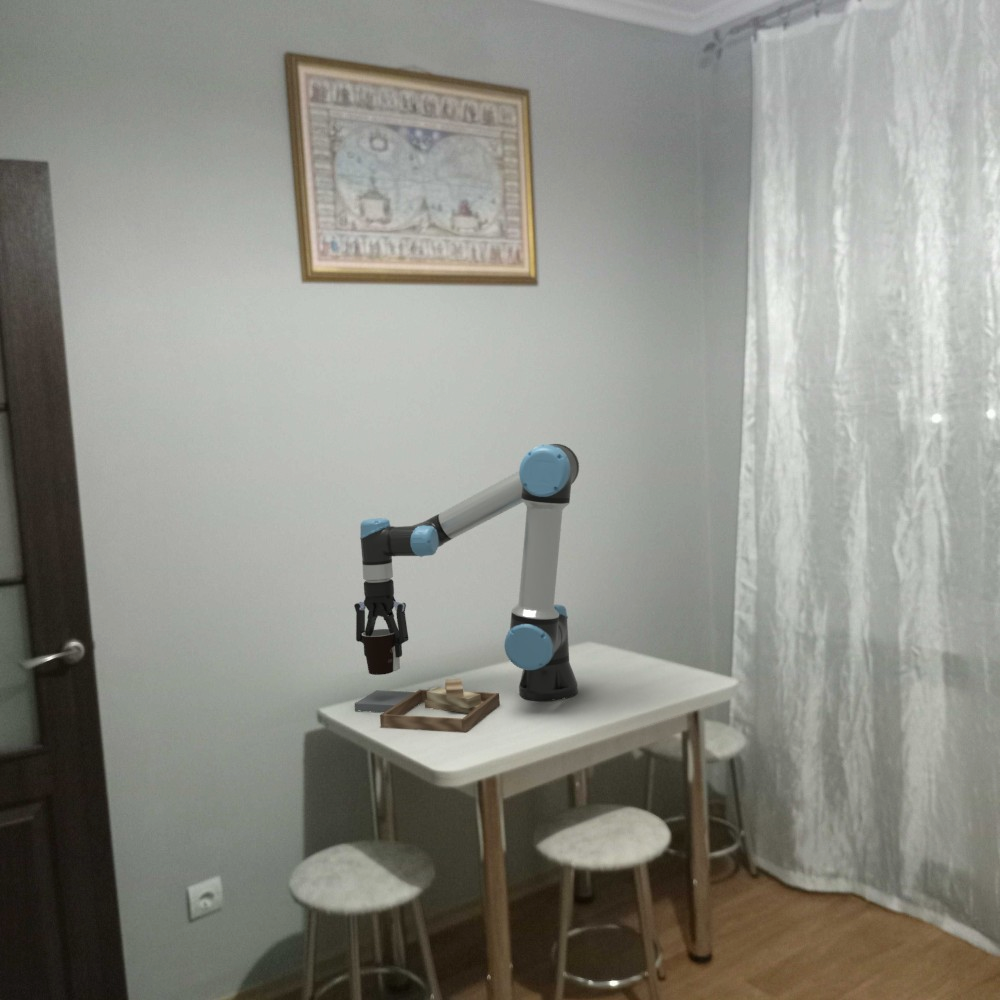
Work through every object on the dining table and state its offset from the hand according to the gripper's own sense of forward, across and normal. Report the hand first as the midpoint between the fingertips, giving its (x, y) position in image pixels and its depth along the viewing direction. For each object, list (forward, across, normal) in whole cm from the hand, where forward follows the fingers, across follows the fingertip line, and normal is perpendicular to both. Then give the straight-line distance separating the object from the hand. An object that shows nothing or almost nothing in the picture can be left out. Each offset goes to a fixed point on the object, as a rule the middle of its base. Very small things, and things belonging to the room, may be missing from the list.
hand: (384, 669), depth 251 cm
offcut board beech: (+5, -19, 0) cm, 20 cm away
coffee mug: (0, 0, 0) cm, 1 cm away
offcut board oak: (+10, -19, 0) cm, 22 cm away
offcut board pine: (+8, -19, 0) cm, 20 cm away
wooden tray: (+9, -18, +6) cm, 21 cm away
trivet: (+9, 0, 0) cm, 9 cm away
